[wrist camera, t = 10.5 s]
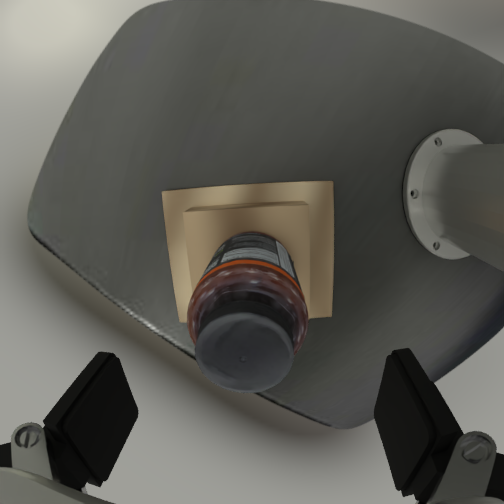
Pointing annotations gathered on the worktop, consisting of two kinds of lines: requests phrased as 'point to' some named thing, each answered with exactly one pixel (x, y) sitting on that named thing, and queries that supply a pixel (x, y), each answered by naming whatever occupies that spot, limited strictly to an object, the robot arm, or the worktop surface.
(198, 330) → the supplement bottle
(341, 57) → the worktop surface
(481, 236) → the robot arm
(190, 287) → the oak base
